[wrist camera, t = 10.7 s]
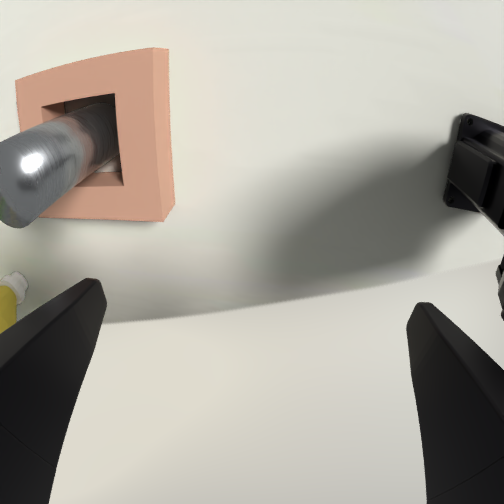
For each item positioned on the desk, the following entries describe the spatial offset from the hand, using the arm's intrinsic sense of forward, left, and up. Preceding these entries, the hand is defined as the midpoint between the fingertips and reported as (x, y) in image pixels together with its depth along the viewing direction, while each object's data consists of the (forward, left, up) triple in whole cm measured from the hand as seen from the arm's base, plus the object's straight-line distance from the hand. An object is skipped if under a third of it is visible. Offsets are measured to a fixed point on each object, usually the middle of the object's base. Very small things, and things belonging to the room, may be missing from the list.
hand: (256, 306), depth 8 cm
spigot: (+11, -2, -12) cm, 16 cm away
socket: (+11, -2, -12) cm, 16 cm away
